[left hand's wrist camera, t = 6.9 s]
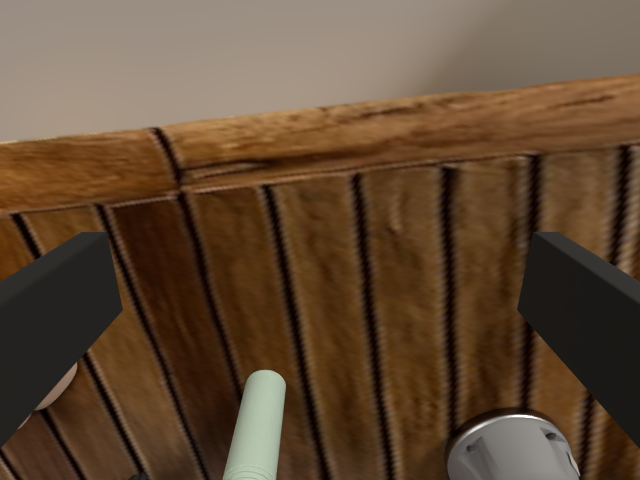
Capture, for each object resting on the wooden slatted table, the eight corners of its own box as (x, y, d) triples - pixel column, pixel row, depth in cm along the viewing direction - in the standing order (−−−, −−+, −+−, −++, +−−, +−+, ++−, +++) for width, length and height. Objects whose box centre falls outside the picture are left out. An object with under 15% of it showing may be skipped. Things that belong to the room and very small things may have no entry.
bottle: (272, 363, 47) (248, 509, 31) (293, 391, 48) (280, 544, 32) (238, 379, 47) (197, 529, 32) (259, 406, 49) (231, 562, 33)
